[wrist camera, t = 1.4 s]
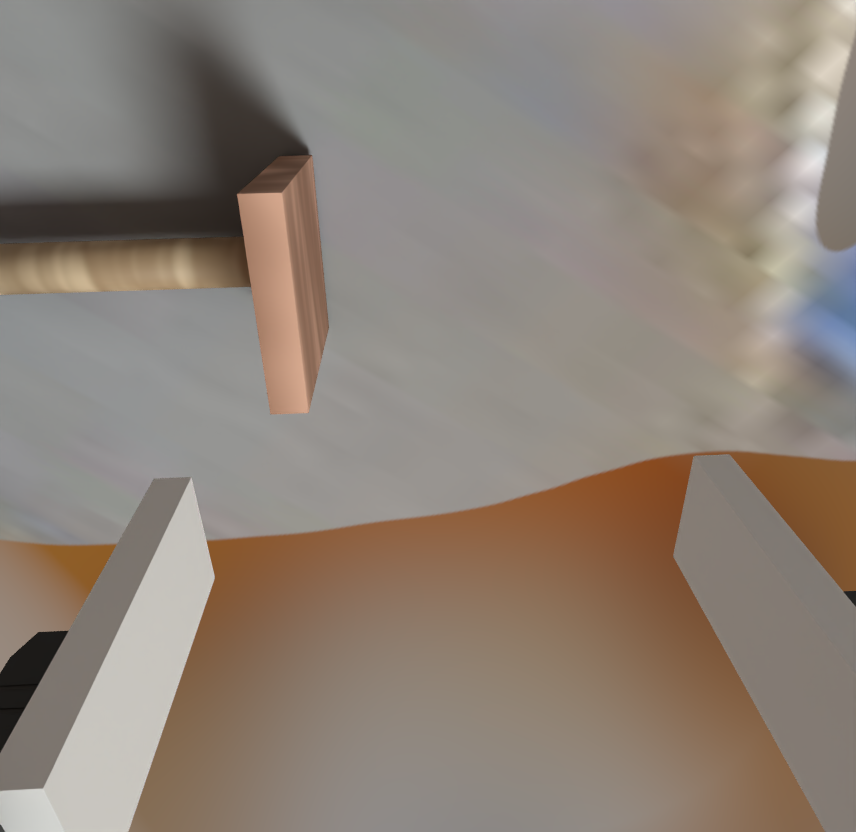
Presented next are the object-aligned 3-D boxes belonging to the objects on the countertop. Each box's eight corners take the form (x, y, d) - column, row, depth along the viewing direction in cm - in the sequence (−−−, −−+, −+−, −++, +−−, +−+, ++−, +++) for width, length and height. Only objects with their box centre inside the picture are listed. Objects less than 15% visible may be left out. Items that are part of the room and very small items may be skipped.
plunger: (312, 155, 33) (281, 192, 24) (328, 327, 37) (308, 412, 28) (-96, 165, 32) (-281, 208, 23) (-30, 339, 36) (-166, 430, 28)
